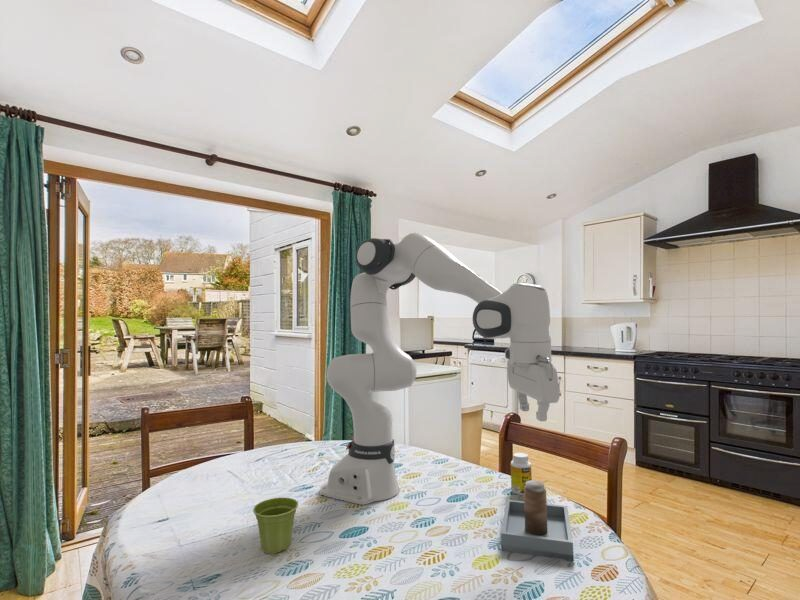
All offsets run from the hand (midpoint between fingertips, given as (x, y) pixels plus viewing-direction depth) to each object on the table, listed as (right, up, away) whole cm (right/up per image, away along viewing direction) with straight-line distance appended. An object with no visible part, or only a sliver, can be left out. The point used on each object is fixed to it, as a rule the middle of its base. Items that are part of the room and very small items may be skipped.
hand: (532, 415), depth 96 cm
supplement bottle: (+4, -28, +22) cm, 35 cm away
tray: (+1, -26, -1) cm, 26 cm away
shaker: (0, -25, -1) cm, 25 cm away
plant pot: (-57, -28, -4) cm, 64 cm away
